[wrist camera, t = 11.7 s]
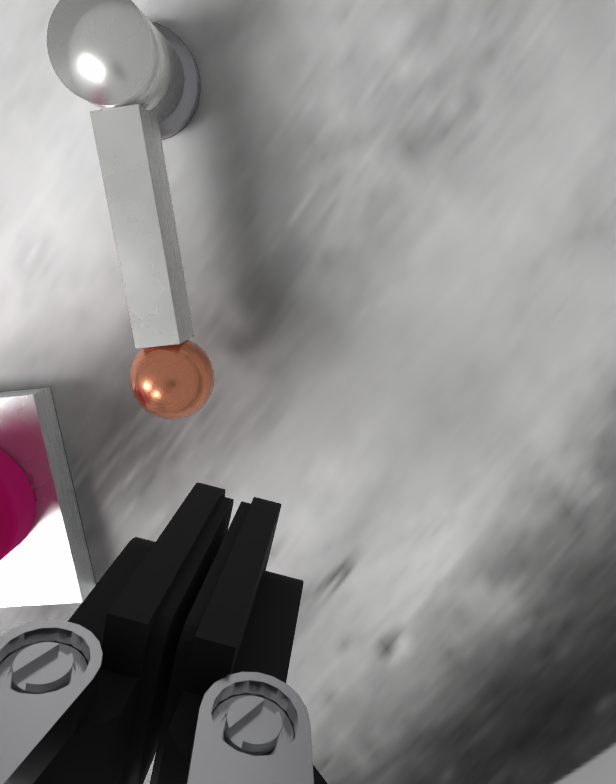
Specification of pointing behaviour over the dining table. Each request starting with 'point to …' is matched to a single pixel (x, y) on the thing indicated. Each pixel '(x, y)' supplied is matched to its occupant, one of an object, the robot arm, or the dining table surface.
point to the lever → (137, 186)
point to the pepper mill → (14, 505)
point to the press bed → (60, 456)
